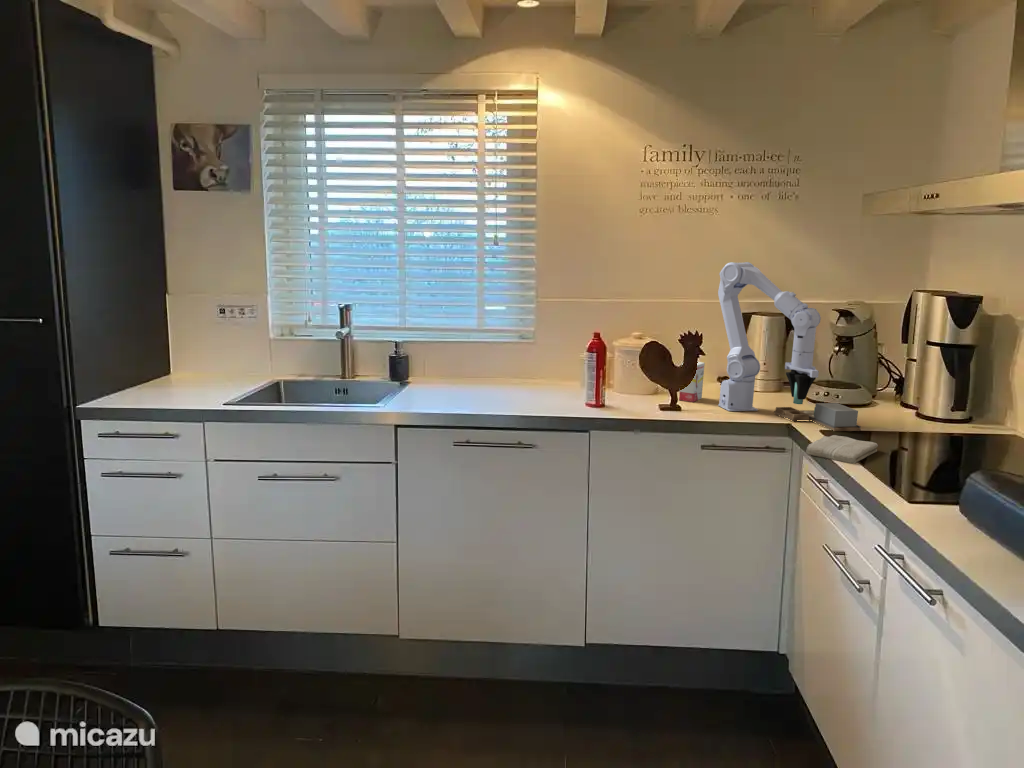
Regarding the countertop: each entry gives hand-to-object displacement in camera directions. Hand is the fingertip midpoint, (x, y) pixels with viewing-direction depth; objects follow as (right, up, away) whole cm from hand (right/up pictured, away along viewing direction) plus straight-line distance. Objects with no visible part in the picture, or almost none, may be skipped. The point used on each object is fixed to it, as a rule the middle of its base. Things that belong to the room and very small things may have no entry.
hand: (798, 398), depth 234 cm
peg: (0, -2, 0) cm, 2 cm away
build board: (-1, -6, +4) cm, 7 cm away
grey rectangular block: (+8, -8, -5) cm, 12 cm away
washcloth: (-1, -14, -33) cm, 36 cm away
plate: (+7, -7, 0) cm, 10 cm away
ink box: (-25, -1, +25) cm, 36 cm away
